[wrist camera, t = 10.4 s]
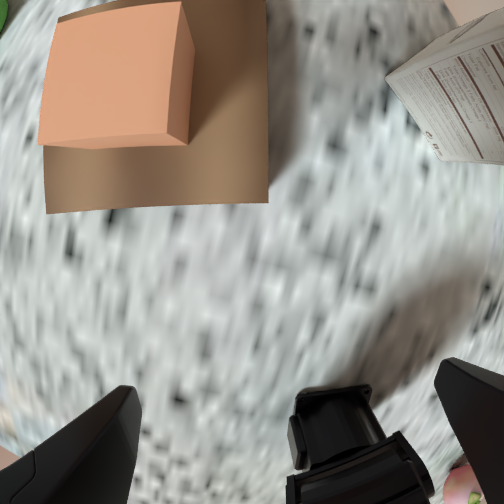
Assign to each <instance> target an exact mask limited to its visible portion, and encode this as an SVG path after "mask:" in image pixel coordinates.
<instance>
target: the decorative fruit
mask: <svg viewBox="0 0 504 504" xmlns="http://www.w3.org/2000/svg"><path fill="white" fill-rule="evenodd" d="M483 497H484V495H483V492H482V490H481V488H480V485H479V483H478V481H477V479H476V476H475V474H474V472H473V470H472V468H471V466H470V465H465V466H461V467H458V468H454V469H453V470H452V471H451V472H450V474H449V476H448V477H447V479H446V481H445V484H444V487H443V499H444V502H445V504H479V503H480V500H481V499H482V498H483Z"/></svg>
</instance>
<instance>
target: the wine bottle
mask: <svg viewBox="0 0 504 504" xmlns="http://www.w3.org/2000/svg"><path fill="white" fill-rule="evenodd" d="M7 12H8V2H7V0H0V32H1V30H2V28H3V25H4V23H5V20H6V17H7Z"/></svg>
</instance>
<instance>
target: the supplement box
mask: <svg viewBox="0 0 504 504" xmlns="http://www.w3.org/2000/svg"><path fill="white" fill-rule="evenodd" d="M385 80H386V81H387V83H388V84H389V86H390V87H391V88H392V90H393V91H394V92H395V94H396V95H397V96H398V98H399V99H400V100H401V102H402V103H403V105H404V106H405V107H406V109H407V110H408V112H409V113H410V115H411V116H412V118H413V119H414V120H415V122H416V123H417V125H418V126H419V128H420V129H421V131H422V133H423V134H424V136H425V137H426V139H427V140H428V142H429V143H430V145H431V147H432V148H433V150H434V152H435V153H436V155H437V156H438V158H439V159H440V161H453V162H470V163H484V164H495V165H504V7H503V8H501V9H499V10H496V11H494V12H491V13H489V14H486V15H484V16H482V17H479V18H477V19H475V20H473V21H471V22H469V23H466V24H464V25H462V26H460V27H458V28H456V29H454V30H452V31H450V32H448V33H446V34H444V35H442V36H440V37H438V38H436V39H435V40H434V41H433V42H431V43H430V44H429V45H428V46H427V47H426V48H424V49H423V50H422V51H420V52H419V53H417V54H416V55H415V56H413V57H412V58H411V59H409V60H408V61H407V62H405V63H404V64H403V65H401V66H400V67H399V68H397V69H396V70H394V71H393V72H392V73H390V74H389V75H387V76H386V77H385Z"/></svg>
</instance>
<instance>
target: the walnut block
mask: <svg viewBox="0 0 504 504" xmlns="http://www.w3.org/2000/svg"><path fill="white" fill-rule="evenodd" d="M180 1H181V2H182V6H183V9H184V13H185V16H186V20H187V23H188V27H189V30H190V34H191V37H192V41H193V44H194V48H195V57H194V67H193V78H192V89H191V102H190V117H189V134H188V145H175V146H138V147H119V148H104V149H83V148H73V147H61V146H48V145H44V146H43V156H44V187H45V202H46V214H55V213H66V212H78V211H90V210H103V209H117V208H133V207H151V206H172V205H198V204H237V203H268V69H267V21H266V0H117V1H113V2H109V3H105V4H101V5H97V6H94V7H90V8H87V9H83V10H80V11H77V12H74V13H71V14H68V15H65V16H62V17H59V18H58V22H57V23H61V22H64V21H67V20H71V19H75V18H79V17H82V16H87V15H91V14H95V13H100V12H104V11H109V10H115V9H120V8H126V7H133V6H140V5H147V4H156V3H167V2H180Z"/></svg>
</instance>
